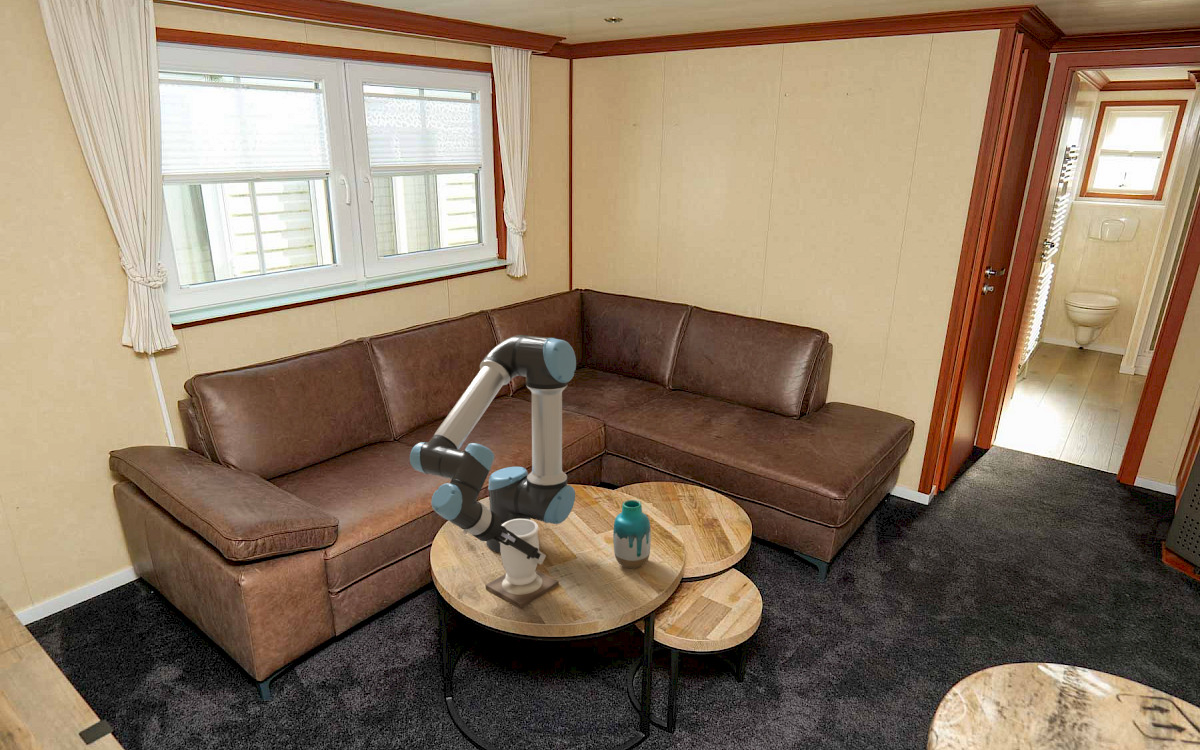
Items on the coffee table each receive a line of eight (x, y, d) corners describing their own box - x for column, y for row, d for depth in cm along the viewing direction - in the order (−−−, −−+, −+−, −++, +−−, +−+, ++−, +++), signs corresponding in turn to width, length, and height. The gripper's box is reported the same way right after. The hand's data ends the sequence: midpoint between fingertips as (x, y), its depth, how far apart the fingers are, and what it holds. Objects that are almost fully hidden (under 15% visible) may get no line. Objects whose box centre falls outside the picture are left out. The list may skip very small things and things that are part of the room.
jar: (497, 571, 190) (495, 522, 186) (534, 563, 194) (532, 515, 190) (507, 591, 181) (504, 540, 177) (544, 583, 184) (543, 532, 180)
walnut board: (485, 588, 187) (485, 584, 187) (523, 567, 197) (523, 563, 197) (521, 608, 178) (520, 604, 178) (558, 584, 189) (558, 580, 188)
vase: (647, 576, 192) (648, 513, 187) (610, 572, 194) (609, 510, 189) (652, 556, 202) (653, 496, 197) (617, 553, 204) (616, 494, 199)
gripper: (444, 521, 178) (494, 551, 194) (503, 550, 164) (552, 580, 179) (459, 495, 180) (507, 527, 196) (518, 522, 166) (565, 554, 182)
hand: (528, 553), depth 188 cm, fingers closed on jar, 10 cm apart
